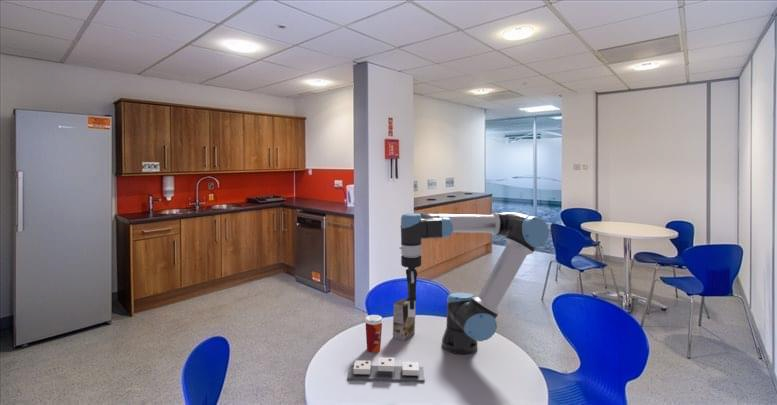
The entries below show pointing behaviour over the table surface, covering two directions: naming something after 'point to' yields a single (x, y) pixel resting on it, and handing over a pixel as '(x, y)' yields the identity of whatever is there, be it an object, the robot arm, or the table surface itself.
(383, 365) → the tile
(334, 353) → the table surface
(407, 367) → the tile
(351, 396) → the table surface
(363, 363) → the tile
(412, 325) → the coffee box
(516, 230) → the robot arm
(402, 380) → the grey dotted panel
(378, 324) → the paper cup
